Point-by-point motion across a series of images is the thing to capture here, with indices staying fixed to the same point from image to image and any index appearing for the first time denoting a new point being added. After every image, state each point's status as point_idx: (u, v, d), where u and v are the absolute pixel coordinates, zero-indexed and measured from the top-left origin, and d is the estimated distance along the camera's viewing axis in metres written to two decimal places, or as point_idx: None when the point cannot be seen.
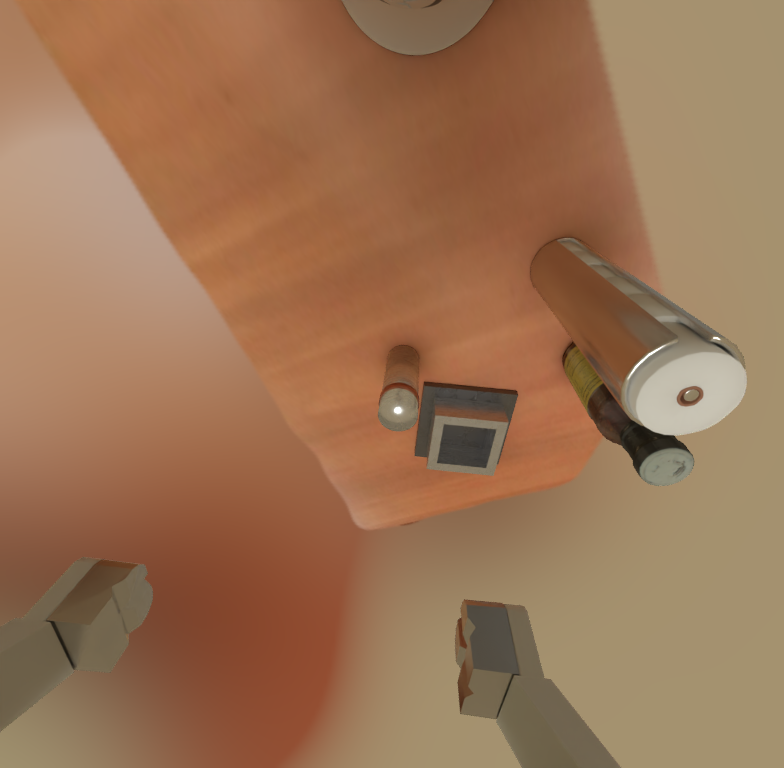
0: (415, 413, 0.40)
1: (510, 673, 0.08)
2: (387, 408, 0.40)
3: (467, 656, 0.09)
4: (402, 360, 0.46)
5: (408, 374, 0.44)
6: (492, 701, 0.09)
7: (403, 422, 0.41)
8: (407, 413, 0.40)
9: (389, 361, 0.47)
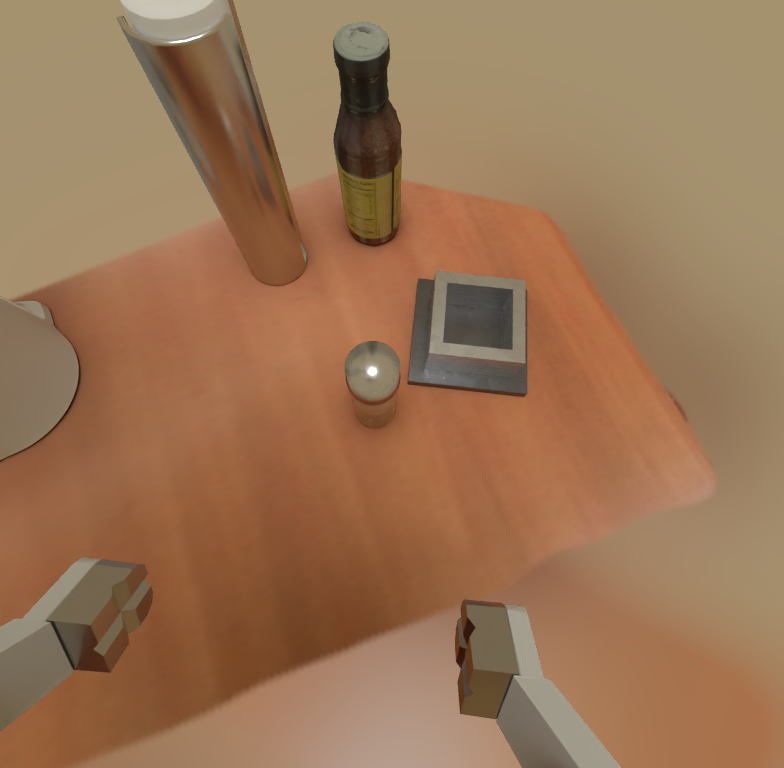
0: (368, 343, 0.29)
1: (510, 673, 0.08)
2: (359, 379, 0.28)
3: (467, 656, 0.09)
4: None
5: None
6: (492, 701, 0.09)
7: (384, 359, 0.29)
8: (368, 353, 0.29)
9: (360, 415, 0.37)
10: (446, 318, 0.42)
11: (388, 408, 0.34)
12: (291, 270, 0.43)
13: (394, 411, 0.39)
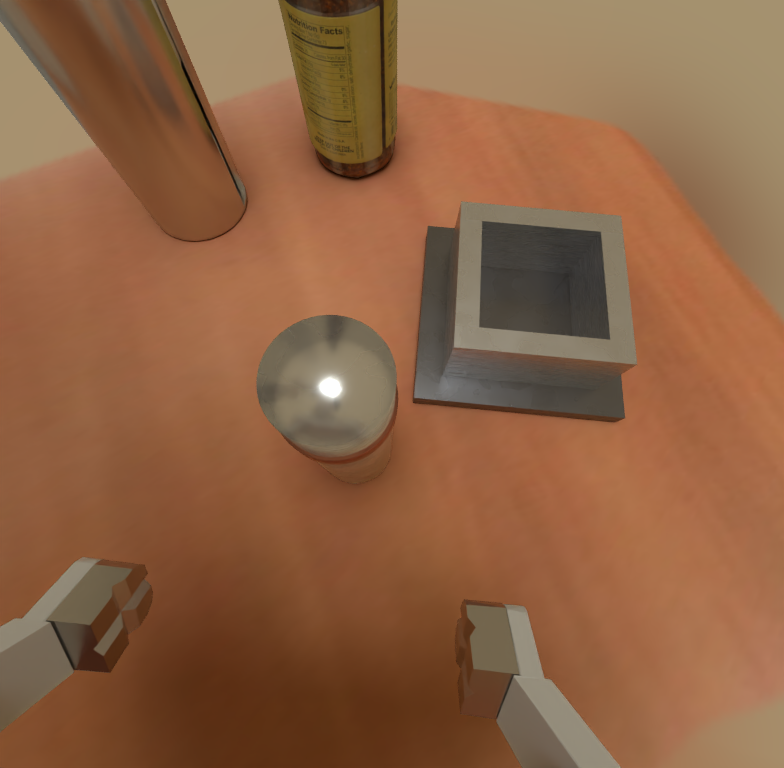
0: (319, 321, 0.12)
1: (510, 673, 0.08)
2: (293, 411, 0.11)
3: (467, 656, 0.09)
4: None
5: None
6: (492, 701, 0.09)
7: (356, 359, 0.12)
8: (318, 345, 0.12)
9: None
10: None
11: (375, 460, 0.17)
12: (215, 213, 0.26)
13: (389, 454, 0.21)
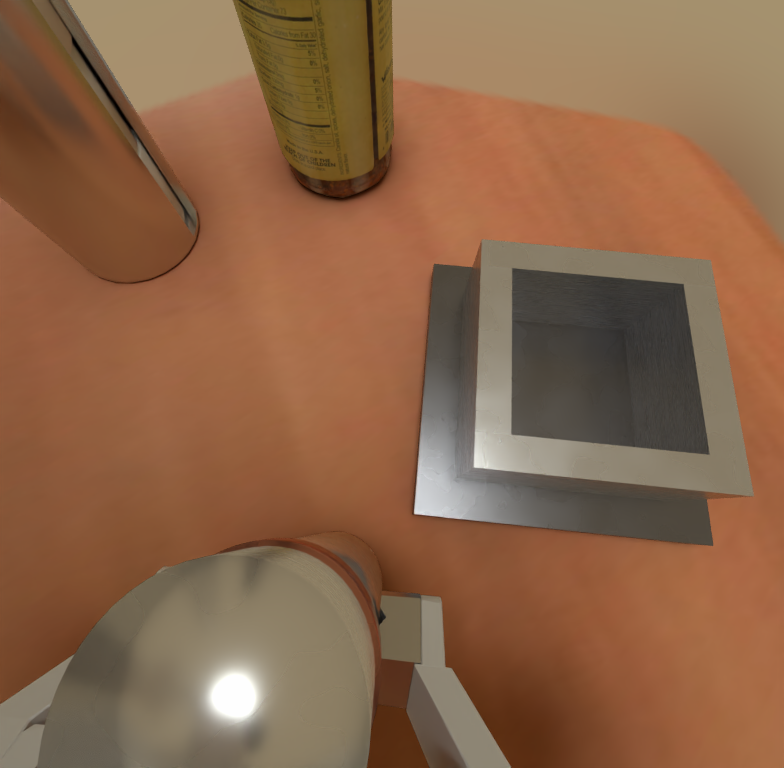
0: (203, 571, 0.05)
1: (411, 662, 0.08)
2: None
3: None
4: None
5: None
6: (399, 690, 0.09)
7: (280, 676, 0.05)
8: (195, 639, 0.05)
9: None
10: None
11: None
12: (149, 248, 0.19)
13: None
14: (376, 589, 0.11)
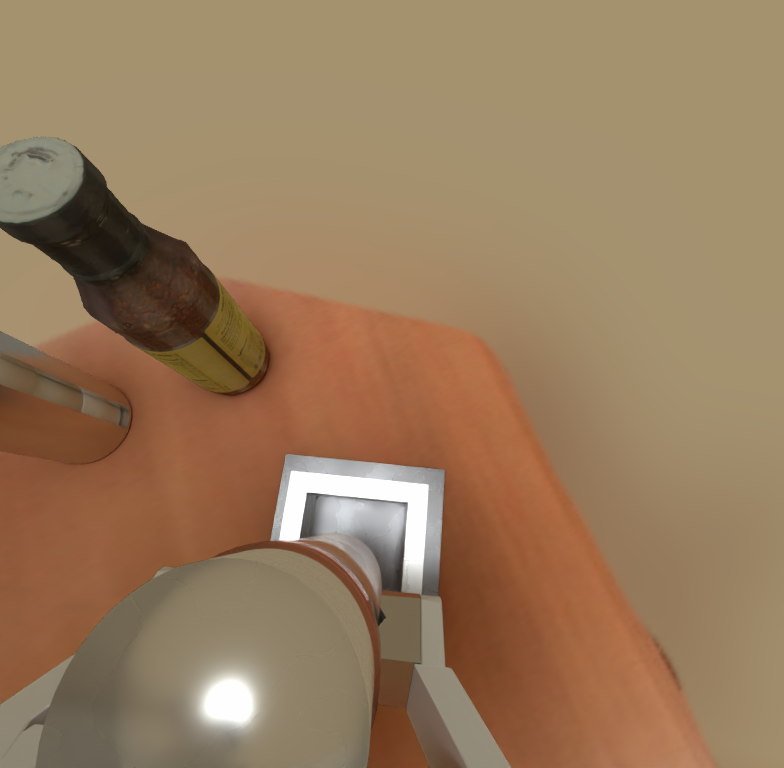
0: (202, 575, 0.05)
1: (411, 662, 0.08)
2: None
3: None
4: None
5: None
6: (399, 690, 0.09)
7: (279, 680, 0.05)
8: (194, 643, 0.05)
9: None
10: (322, 521, 0.29)
11: None
12: (93, 450, 0.29)
13: None
14: (375, 591, 0.11)
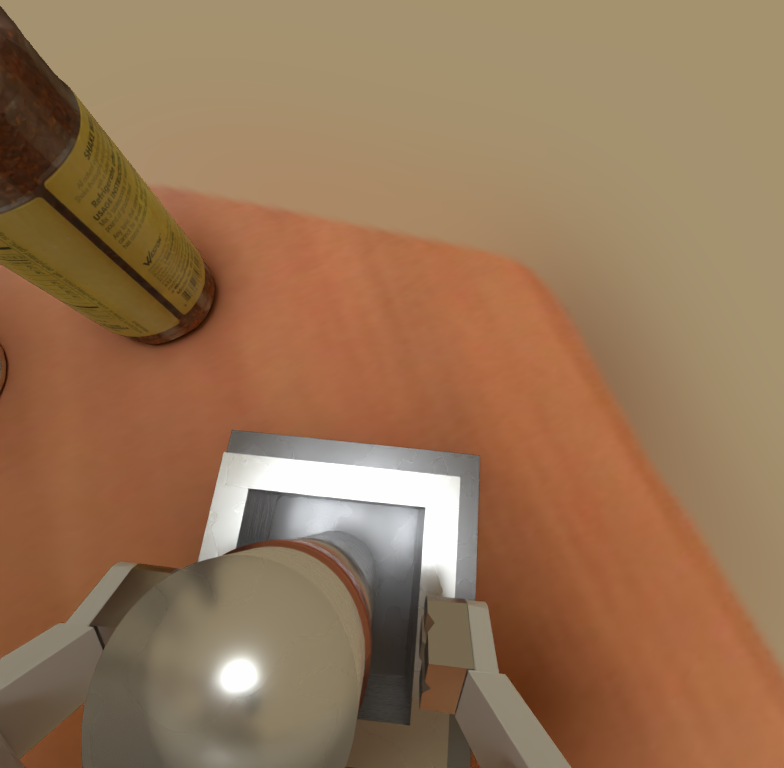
0: (217, 569, 0.06)
1: (465, 668, 0.08)
2: None
3: (425, 651, 0.09)
4: None
5: None
6: (449, 696, 0.09)
7: (282, 657, 0.06)
8: (210, 626, 0.06)
9: None
10: (284, 536, 0.18)
11: None
12: None
13: None
14: (370, 585, 0.12)
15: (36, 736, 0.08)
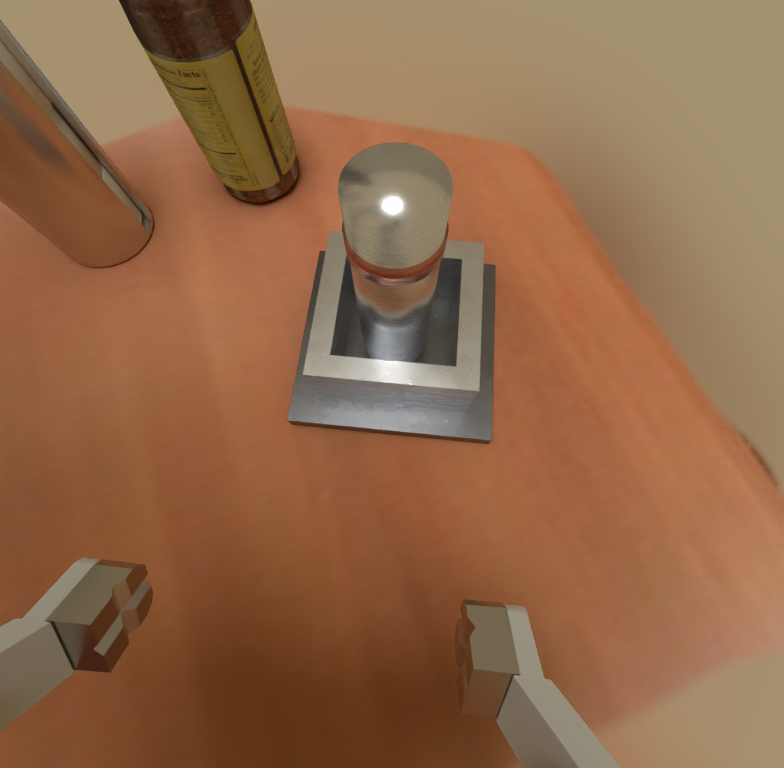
0: (386, 147, 0.14)
1: (510, 673, 0.08)
2: (369, 208, 0.14)
3: (467, 656, 0.09)
4: None
5: None
6: (492, 701, 0.09)
7: (419, 172, 0.14)
8: (387, 163, 0.14)
9: (370, 337, 0.22)
10: None
11: (421, 310, 0.19)
12: (113, 241, 0.27)
13: (426, 335, 0.24)
14: None
15: None
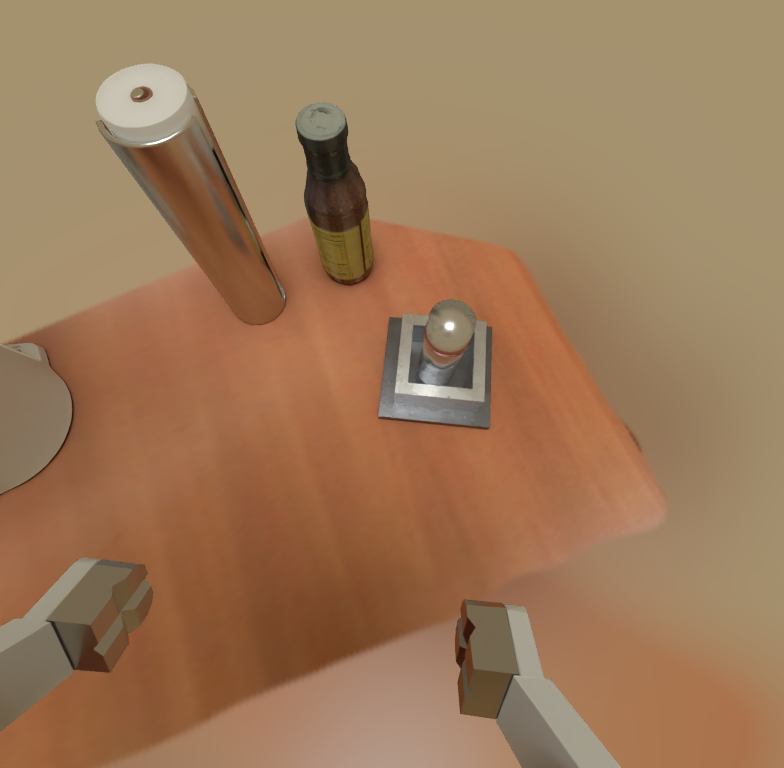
0: (447, 301, 0.34)
1: (510, 673, 0.08)
2: (442, 331, 0.33)
3: (467, 656, 0.09)
4: (420, 354, 0.41)
5: None
6: (492, 701, 0.09)
7: (462, 314, 0.33)
8: (448, 310, 0.34)
9: (426, 372, 0.41)
10: (415, 355, 0.45)
11: (456, 363, 0.38)
12: (270, 311, 0.46)
13: None
14: None
15: None
